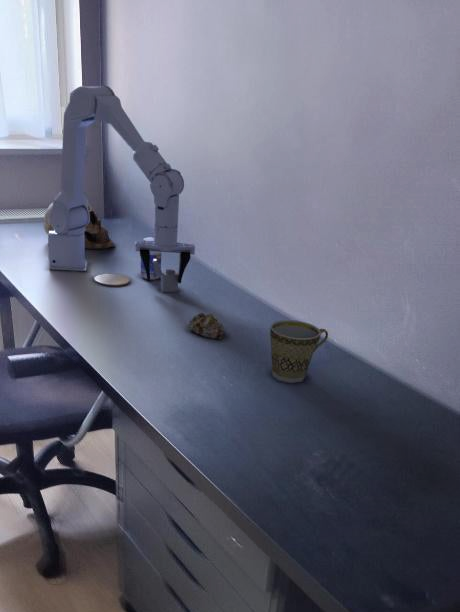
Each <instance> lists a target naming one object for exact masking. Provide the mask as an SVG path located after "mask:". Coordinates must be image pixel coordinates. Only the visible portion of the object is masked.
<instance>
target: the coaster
mask: <svg viewBox="0 0 460 612" xmlns="http://www.w3.org/2000/svg"><path fill="white" fill-rule="evenodd" d="M94 282H95V283H97V284H99V285H102V286H106V287H123V286H126V285H128V284H130V282H131V280H130V277H128V276H127V275H123V274H117V273H102V274H98V275H96V276H94Z"/></svg>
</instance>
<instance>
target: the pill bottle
mask: <svg viewBox="0 0 460 612" xmlns="http://www.w3.org/2000/svg"><path fill="white" fill-rule="evenodd" d="M143 241H154V237H151V236H150V237H149V236H147V237H144V238H143ZM153 259H156V260H157V261H158V264H159V266H160V268H161V269H162V252H156V251H150V261H151V260H153ZM140 277H141V278H143V279H146V280H147V274H146V270H145V267H144V264H143V261H142V259H141V258H140ZM159 279H161V276H160V277H158V276H157V275H156V273H155V271H154V268H153V266H152V264H151V262H150V281H151V280H153V281H154V280H159Z"/></svg>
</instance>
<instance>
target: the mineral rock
mask: <svg viewBox="0 0 460 612" xmlns="http://www.w3.org/2000/svg"><path fill="white" fill-rule="evenodd" d="M188 329H189V332H193V333H195V334H198V335H201V336H202V337H205V338H208V339H214V340H218V341H219V340H222V338H224V337H225V335H226V331H225V330H224V325H223V323H221V322H219V321H218V319H217V318H215V316H214V314H212V313H207V314H205V313H203V312H199V313H198V314H196V315H194V316H193V317H192V319H191V320H190V321H189V323H188Z"/></svg>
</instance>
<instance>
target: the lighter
mask: <svg viewBox="0 0 460 612" xmlns="http://www.w3.org/2000/svg"><path fill="white" fill-rule="evenodd" d="M150 262H151V264H152V266H153V268H154V271H155V273H156V275H157V276H158V277H160V292H162V293H173V292H174V293H175V292H178V291H179V283H178V272H176V270H175V269H173V268H169V269H165V272H163V271H162V267H161V268H160V266H159V264H158V261H157V260H156V259H153V260H151V261H150Z"/></svg>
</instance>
